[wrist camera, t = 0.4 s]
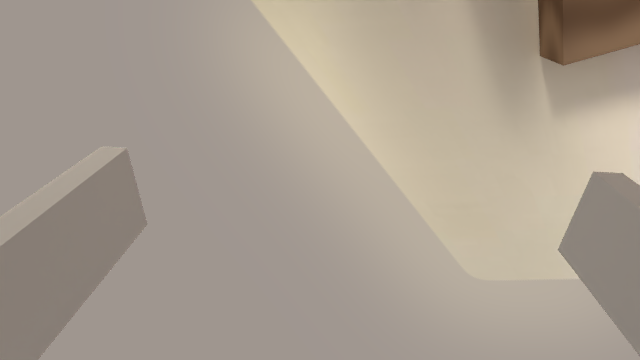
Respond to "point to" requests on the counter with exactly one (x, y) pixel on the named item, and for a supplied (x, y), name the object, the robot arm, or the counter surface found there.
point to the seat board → (586, 28)
